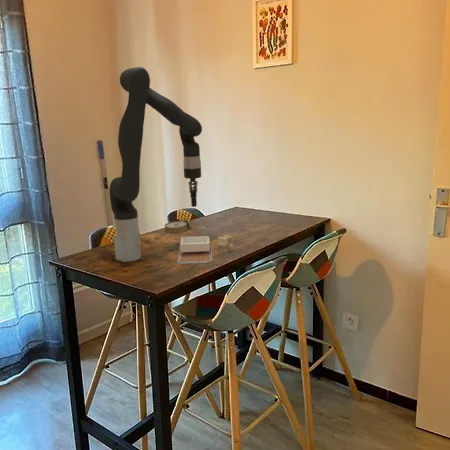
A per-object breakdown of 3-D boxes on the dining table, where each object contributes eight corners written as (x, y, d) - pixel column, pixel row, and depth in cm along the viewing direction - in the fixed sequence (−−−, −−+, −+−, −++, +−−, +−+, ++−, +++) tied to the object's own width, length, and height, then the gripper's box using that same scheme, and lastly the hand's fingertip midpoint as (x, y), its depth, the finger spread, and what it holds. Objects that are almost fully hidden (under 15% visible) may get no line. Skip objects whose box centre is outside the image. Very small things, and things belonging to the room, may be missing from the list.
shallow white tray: (180, 245, 206) (180, 237, 205) (210, 244, 206) (210, 235, 205) (179, 253, 194) (178, 244, 193) (211, 252, 195) (210, 243, 194)
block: (225, 252, 196) (225, 238, 194) (218, 250, 199) (217, 237, 197) (233, 250, 199) (232, 236, 197) (225, 248, 202) (224, 235, 200)
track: (180, 246, 207) (180, 245, 207) (211, 244, 208) (211, 243, 208) (177, 263, 183) (177, 262, 183) (212, 262, 183) (212, 261, 183)
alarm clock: (159, 226, 233) (177, 215, 244) (161, 235, 235) (178, 224, 246) (177, 229, 227) (194, 217, 239) (179, 238, 229) (196, 226, 241)
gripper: (184, 165, 211) (186, 203, 215) (183, 169, 197) (185, 209, 201) (200, 164, 211) (202, 202, 215) (200, 168, 197) (202, 208, 201)
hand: (194, 205), depth 208 cm, fingers open, 3 cm apart
